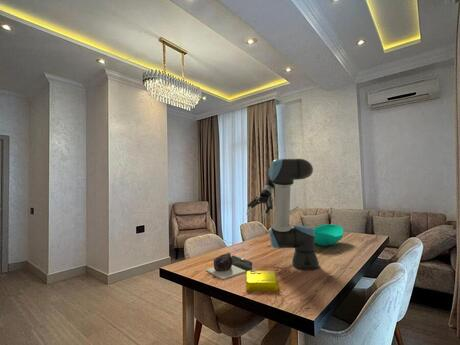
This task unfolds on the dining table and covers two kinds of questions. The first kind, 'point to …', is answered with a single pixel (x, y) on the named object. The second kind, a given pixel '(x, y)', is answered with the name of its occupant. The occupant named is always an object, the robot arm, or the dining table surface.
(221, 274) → the felt mat
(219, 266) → the rock
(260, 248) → the dining table surface
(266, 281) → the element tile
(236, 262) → the metal rail
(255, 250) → the dining table surface
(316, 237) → the table top decor
